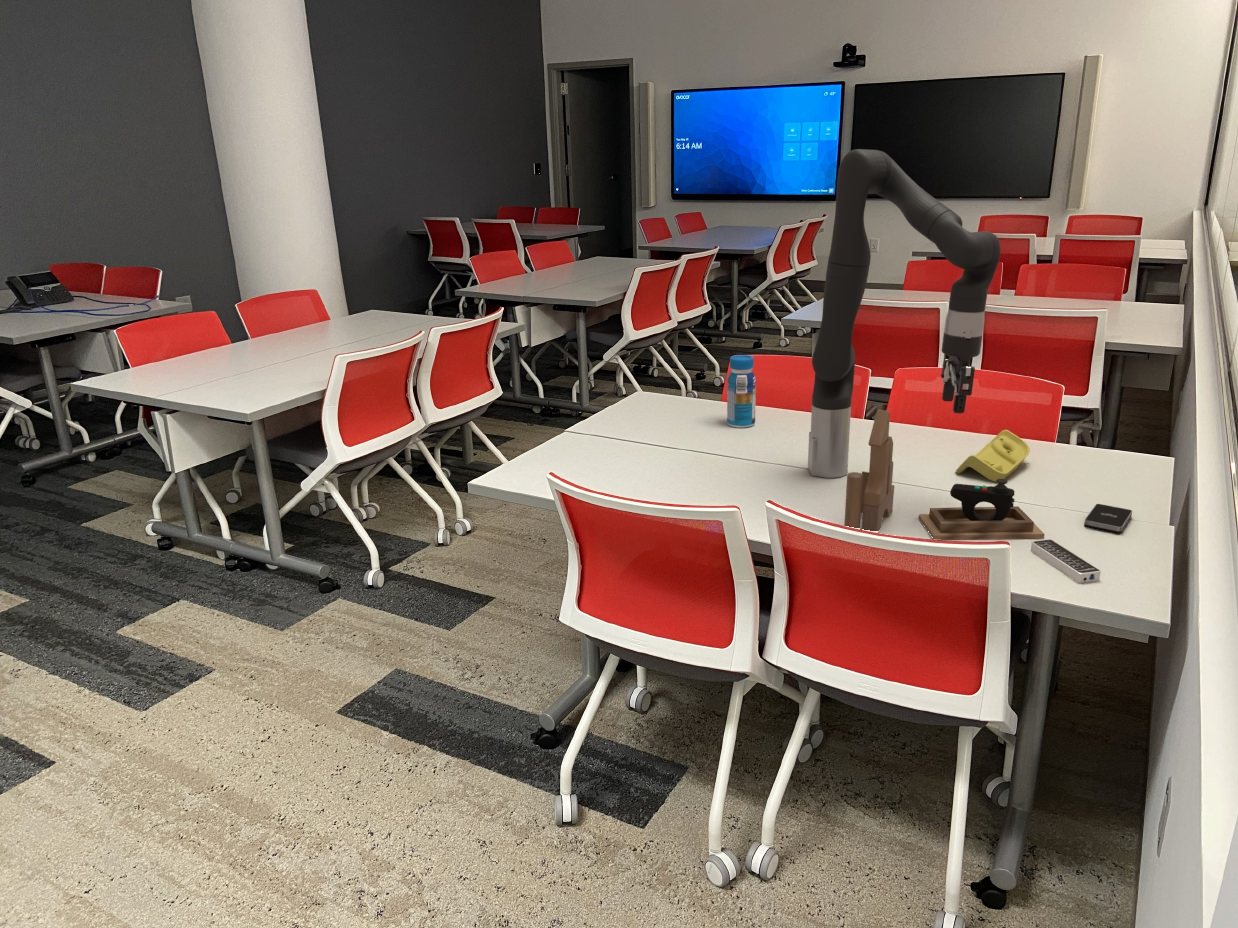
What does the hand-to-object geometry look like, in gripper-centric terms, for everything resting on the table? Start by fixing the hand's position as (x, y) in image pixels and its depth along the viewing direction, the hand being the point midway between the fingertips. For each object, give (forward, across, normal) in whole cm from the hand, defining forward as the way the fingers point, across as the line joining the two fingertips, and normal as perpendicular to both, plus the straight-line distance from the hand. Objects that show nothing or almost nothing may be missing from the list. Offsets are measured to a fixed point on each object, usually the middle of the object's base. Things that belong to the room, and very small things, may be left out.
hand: (952, 406), depth 188 cm
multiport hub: (+22, +29, +16) cm, 40 cm away
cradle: (+23, +12, +5) cm, 26 cm away
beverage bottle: (+26, -62, -40) cm, 78 cm away
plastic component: (+23, -23, +19) cm, 38 cm away
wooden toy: (+24, +9, -17) cm, 31 cm away
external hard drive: (+22, +9, +32) cm, 40 cm away
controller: (+22, +12, +5) cm, 25 cm away
